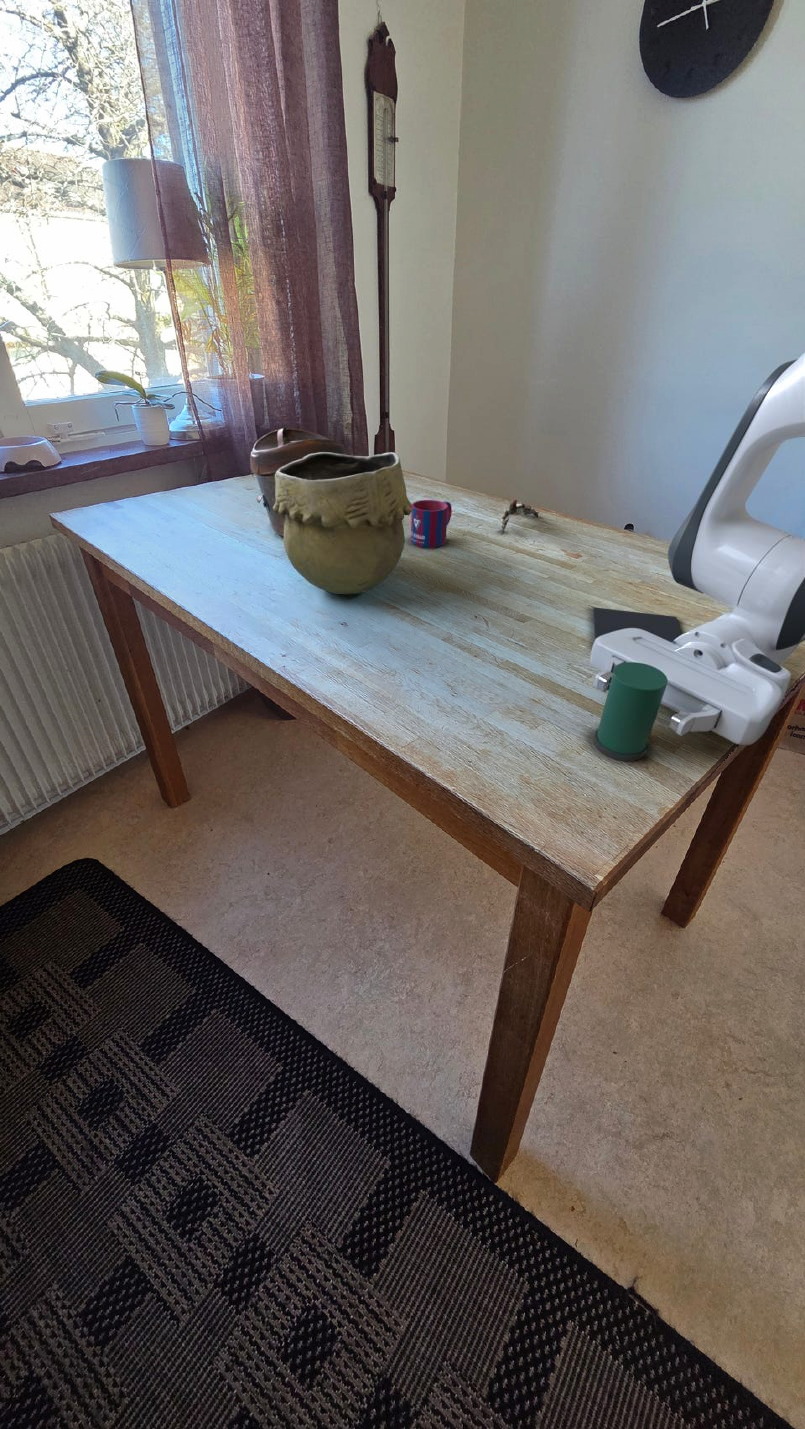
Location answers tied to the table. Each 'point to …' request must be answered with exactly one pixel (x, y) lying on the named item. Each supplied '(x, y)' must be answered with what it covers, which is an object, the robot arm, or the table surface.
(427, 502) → the mug
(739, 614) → the robot arm
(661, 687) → the thermos cap
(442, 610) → the table surface
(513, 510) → the figurine
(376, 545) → the clay pot
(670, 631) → the mat
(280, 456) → the brown planter
